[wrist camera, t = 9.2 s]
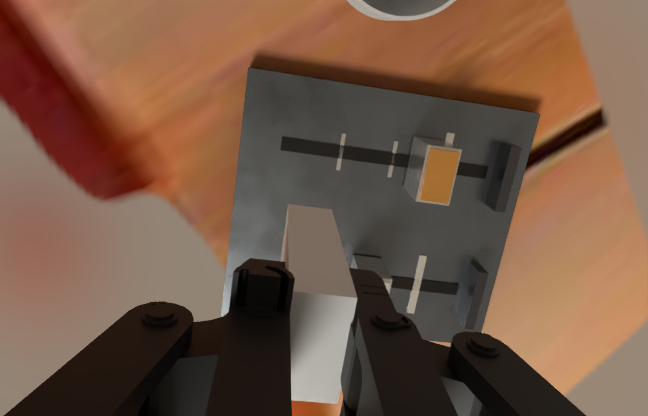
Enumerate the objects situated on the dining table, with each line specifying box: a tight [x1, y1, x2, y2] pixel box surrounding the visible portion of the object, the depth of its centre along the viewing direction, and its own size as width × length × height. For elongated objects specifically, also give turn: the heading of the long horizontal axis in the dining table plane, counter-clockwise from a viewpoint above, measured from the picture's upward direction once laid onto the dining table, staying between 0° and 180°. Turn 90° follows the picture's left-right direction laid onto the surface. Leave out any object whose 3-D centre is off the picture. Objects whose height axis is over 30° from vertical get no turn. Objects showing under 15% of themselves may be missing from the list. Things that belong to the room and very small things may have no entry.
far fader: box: [351, 255, 393, 294], centre depth 39 cm, size 4×2×4 cm, turn 171°
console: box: [221, 67, 540, 343], centre depth 39 cm, size 20×22×3 cm
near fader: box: [403, 136, 462, 206], centre depth 36 cm, size 4×2×4 cm, turn 171°
